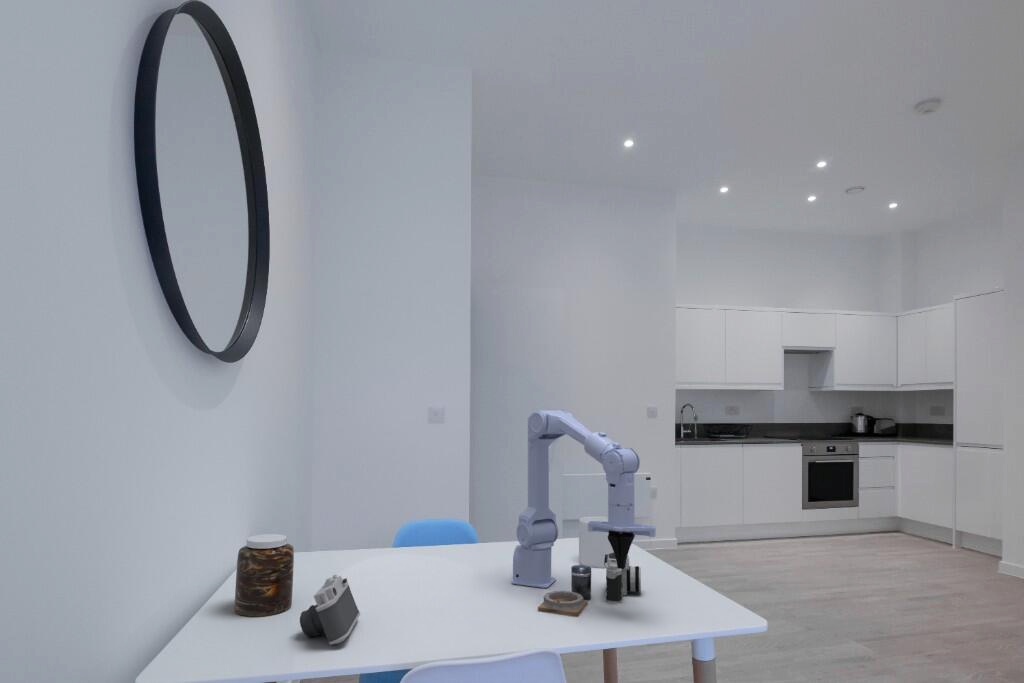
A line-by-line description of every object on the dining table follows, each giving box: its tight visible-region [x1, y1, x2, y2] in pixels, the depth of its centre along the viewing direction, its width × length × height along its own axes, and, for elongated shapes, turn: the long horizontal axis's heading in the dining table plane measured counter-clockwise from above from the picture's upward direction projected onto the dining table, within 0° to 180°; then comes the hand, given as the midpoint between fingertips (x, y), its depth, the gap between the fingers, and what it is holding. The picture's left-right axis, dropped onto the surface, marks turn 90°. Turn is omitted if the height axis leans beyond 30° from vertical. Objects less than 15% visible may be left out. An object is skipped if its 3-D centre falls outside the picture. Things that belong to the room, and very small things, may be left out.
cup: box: [578, 516, 614, 569], centre depth 176 cm, size 12×12×12 cm
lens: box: [570, 564, 592, 602], centre depth 143 cm, size 5×5×7 cm
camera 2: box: [604, 552, 642, 605], centre depth 147 cm, size 16×9×10 cm, turn 168°
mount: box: [537, 590, 589, 617], centre depth 136 cm, size 9×9×2 cm
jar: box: [234, 533, 295, 618], centre depth 134 cm, size 12×12×15 cm
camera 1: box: [299, 574, 361, 645], centre depth 120 cm, size 9×16×10 cm, turn 7°
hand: (621, 567), depth 133 cm, fingers closed
